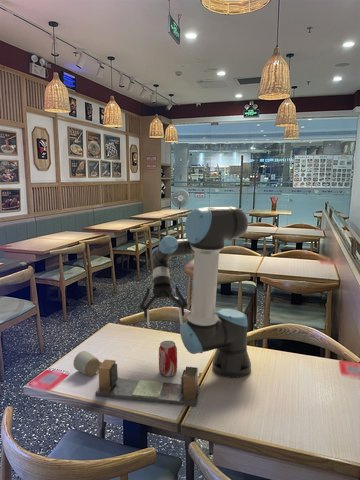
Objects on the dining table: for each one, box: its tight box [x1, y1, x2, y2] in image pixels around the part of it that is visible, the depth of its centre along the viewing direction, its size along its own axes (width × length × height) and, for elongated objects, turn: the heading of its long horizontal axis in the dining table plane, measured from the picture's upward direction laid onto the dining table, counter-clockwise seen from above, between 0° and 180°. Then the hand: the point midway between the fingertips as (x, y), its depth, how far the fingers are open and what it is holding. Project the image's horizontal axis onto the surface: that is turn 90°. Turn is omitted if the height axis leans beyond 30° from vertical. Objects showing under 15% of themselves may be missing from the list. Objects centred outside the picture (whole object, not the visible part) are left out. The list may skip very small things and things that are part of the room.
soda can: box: [158, 340, 178, 377], centre depth 135 cm, size 7×7×12 cm
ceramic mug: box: [73, 350, 103, 377], centre depth 138 cm, size 11×8×8 cm
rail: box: [95, 359, 201, 408], centre depth 122 cm, size 35×10×10 cm, turn 80°
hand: (165, 324), depth 144 cm, fingers open, 13 cm apart
